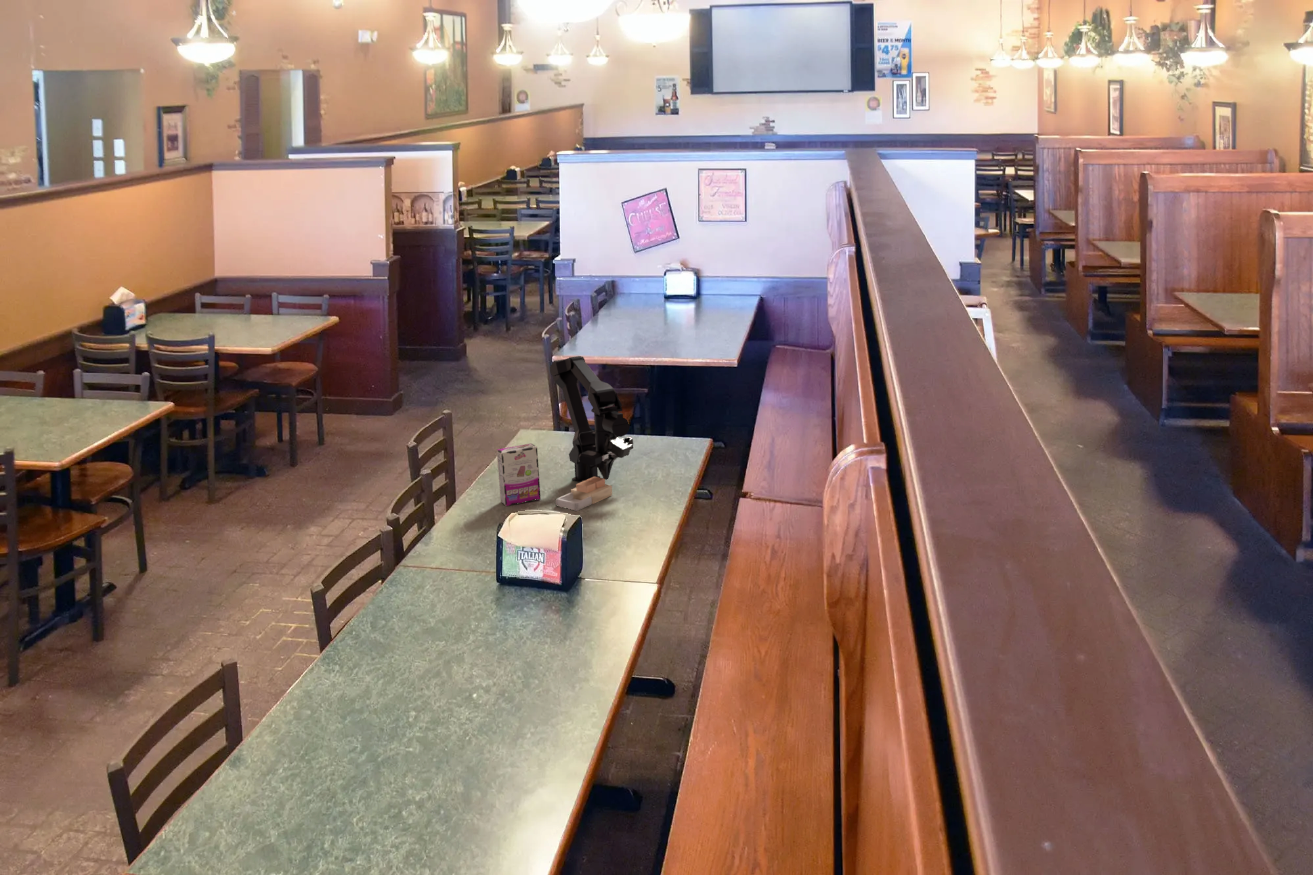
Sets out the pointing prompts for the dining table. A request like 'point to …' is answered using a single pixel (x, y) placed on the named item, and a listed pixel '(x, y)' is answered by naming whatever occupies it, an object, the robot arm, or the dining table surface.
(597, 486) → the tile rear
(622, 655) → the dining table surface
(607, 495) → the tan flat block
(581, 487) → the tile front
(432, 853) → the dining table surface
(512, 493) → the candy bar box
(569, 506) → the tray
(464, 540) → the dining table surface
